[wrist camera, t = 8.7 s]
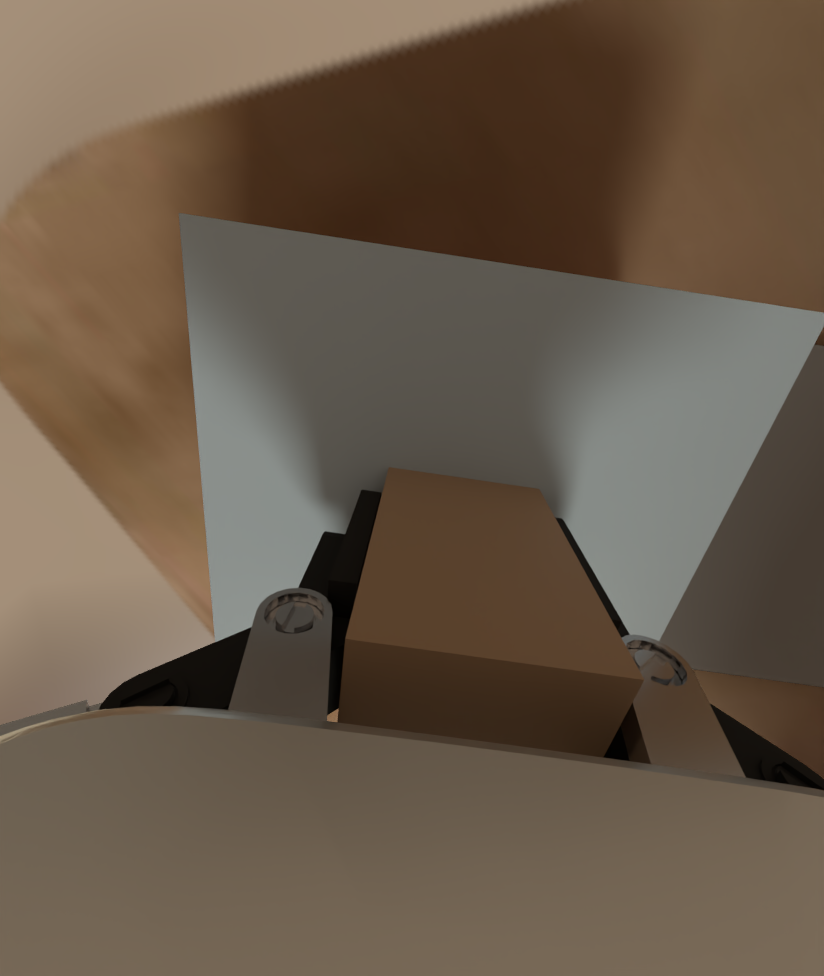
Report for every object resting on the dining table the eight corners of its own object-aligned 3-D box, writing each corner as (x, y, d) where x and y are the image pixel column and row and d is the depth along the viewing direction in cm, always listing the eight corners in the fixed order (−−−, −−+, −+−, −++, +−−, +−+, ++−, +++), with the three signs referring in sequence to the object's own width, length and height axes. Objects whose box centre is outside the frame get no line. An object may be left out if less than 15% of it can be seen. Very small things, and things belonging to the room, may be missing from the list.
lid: (793, 311, 10) (1447, 343, 4) (599, 709, 16) (712, 988, 9) (202, 220, 10) (-245, 75, 3) (231, 659, 16) (91, 911, 9)
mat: (1080, 385, 16) (1095, 387, 16) (836, 683, 24) (842, 689, 23) (660, 321, 16) (666, 321, 16) (543, 643, 23) (544, 648, 23)
